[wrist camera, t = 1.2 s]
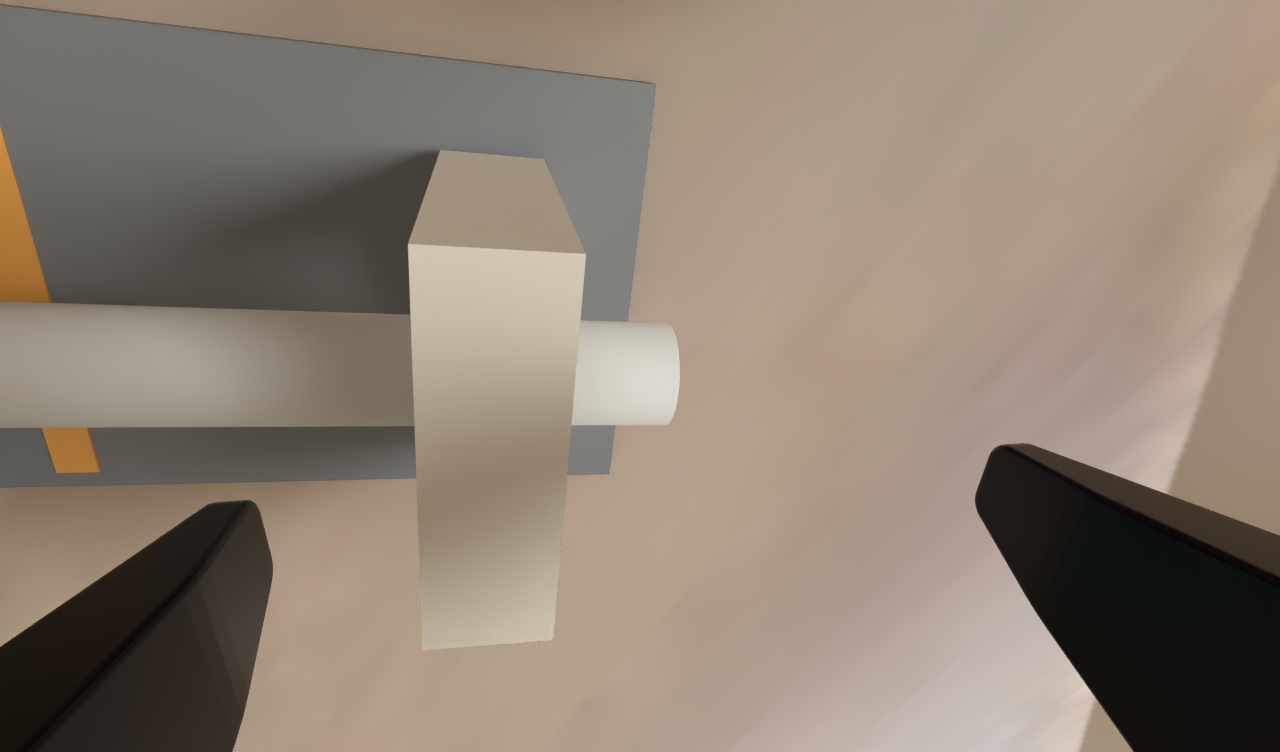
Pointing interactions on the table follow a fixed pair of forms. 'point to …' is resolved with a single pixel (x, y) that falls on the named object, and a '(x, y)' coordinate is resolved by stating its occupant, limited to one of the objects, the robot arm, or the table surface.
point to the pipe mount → (272, 248)
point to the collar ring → (492, 395)
